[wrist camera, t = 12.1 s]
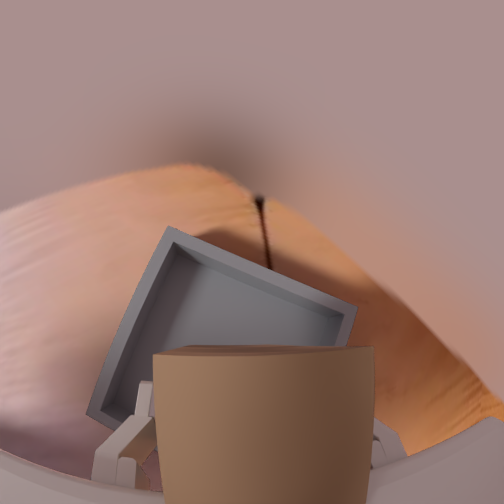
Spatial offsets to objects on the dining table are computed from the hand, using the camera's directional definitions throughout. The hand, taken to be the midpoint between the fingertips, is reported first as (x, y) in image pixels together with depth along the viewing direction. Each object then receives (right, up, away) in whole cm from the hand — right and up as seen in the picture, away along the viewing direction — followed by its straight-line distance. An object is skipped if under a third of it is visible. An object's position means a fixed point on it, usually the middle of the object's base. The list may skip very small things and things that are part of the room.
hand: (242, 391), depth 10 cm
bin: (-3, -6, +18) cm, 19 cm away
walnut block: (-1, -3, +6) cm, 6 cm away
